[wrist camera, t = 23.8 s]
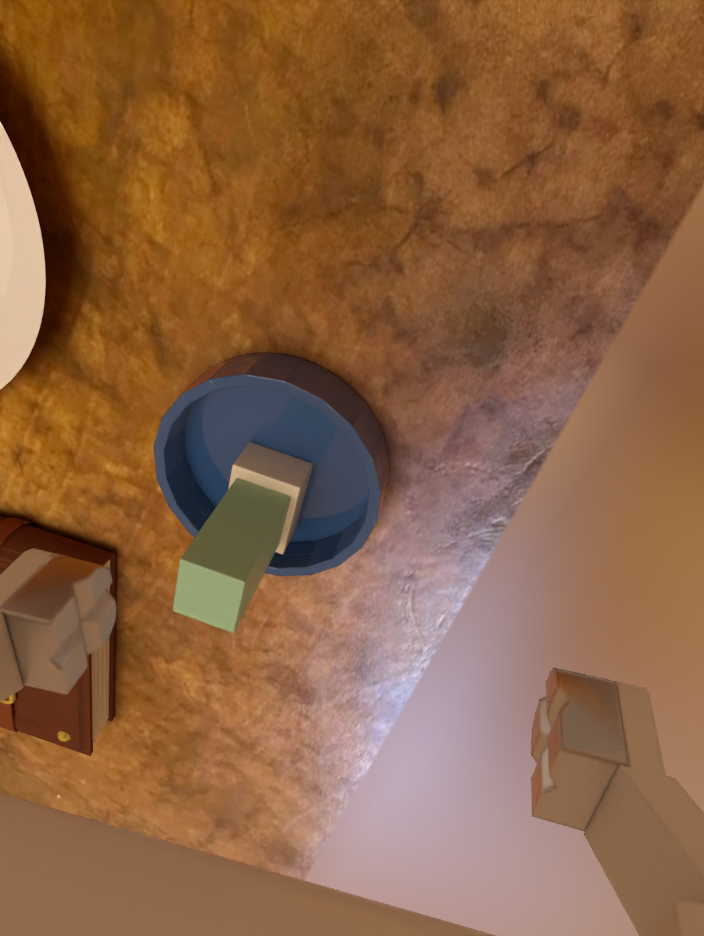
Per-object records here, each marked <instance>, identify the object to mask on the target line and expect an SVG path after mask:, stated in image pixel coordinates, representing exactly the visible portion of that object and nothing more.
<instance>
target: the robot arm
mask: <svg viewBox="0 0 704 936" xmlns="http://www.w3.org/2000/svg"><path fill="white" fill-rule="evenodd" d="M112 582H113V581H112V576H111V571H110V568H108V567H106V566H103V565H99V564H95V563H91V562H88V561H84V560H80V559H76V558H72V557H68V556H64V555H60V554H55V553H51V552H47V551H43V550H39V549H35V548H33V549H30V550H27V551H25V552H24V553H22V554H21V555H20V556H19V557H18V558H17V559H16V560H15V561H14V562H13V563H12V564H11V565H10V566H9V567H8V568H7V569H6V570H5V571H4V572H3V573H2V574H1V575H0V702H2V701H3V700H5V699H6V698H8V697H10V696H11V695H13V694H14V693H16V692H18V691H19V690H21V689H23V687H24V686H23V685H25V686H30V687H34V688H38V689H43V690H47V691H51V692H56V693H60V694H65V695H67V694H68V693H69V692H70V690H71V689H72V688H73V686H74V685H75V684H76V682H77V681H78V679H79V678H80V677H81V675H82V674H83V673H84V671H85V670H86V669H87V667H88V664H87V655H89V654H91V653H93V652H95V651H97V650H99V649H101V648H102V646H103V645H104V643H105V642H106V641H107V639H108V638H109V636H110V634H111V631H112V628H113V626H114V623H115V619H116V610H117V609H116V601H115V599H114V597H113V596H112V595H111V594H110V593H109V591H108V590H107V589H108V587H109V586H110V585H111V583H112ZM531 755H532V756H533V758H534V760H535V761H536V763H537V765H536V768H535V771H534V773H533V776H532V779H531V787H532V788H531V789H532V816H533V817H537V818H540V819H543V820H547V821H550V822H554V823H557V824H561V825H564V826H568V827H571V828H575V829H578V830H582V831H585V833H584V835H585V837H586V839H587V840H588V842H589V844H590V846H591V848H592V850H593V851H594V853H595V855H596V857H597V859H598V861H599V862H600V864H601V866H602V868H603V870H604V872H605V874H606V875H607V877H608V879H609V881H610V883H611V885H612V886H613V888H614V890H615V892H616V894H617V895H618V897H619V899H620V901H621V903H622V905H623V907H624V908H625V910H626V912H627V914H628V916H629V918H630V920H631V921H632V923H633V925H634V927H635V929H636V931H637V932H638V934H639V936H704V813H703V812H702V810H701V809H700V808H699V807H698V806H697V804H696V803H695V802H694V801H693V799H692V798H691V797H690V796H689V795H688V793H687V792H686V791H685V790H684V789H683V787H682V786H681V785H680V783H679V782H678V781H677V780H676V779H675V778H672V777H668V776H666V775H665V770H664V765H663V760H662V755H661V750H660V745H659V740H658V735H657V730H656V725H655V721H654V715H653V710H652V706H651V701H650V696H649V693H648V691H647V690H646V688H643V687H639V686H635V685H630V684H625V683H621V682H616V681H611V680H608V679H603V678H598V677H594V676H589V675H585V674H580V673H576V672H570V671H566V670H562V669H557V668H553V669H552V670H551V671H550V673H549V676H548V678H547V681H546V696H545V697H543V698H542V699H540V700H539V703H538V706H537V709H536V712H535V717H534V722H533V727H532V739H531ZM0 936H495V935H492V934H488V933H485V932H481V931H478V930H474V929H471V928H467V927H464V926H460V925H457V924H454V923H450V922H447V921H443V920H440V919H436V918H433V917H429V916H426V915H422V914H419V913H415V912H411V911H408V910H405V909H401V908H398V907H394V906H391V905H388V904H384V903H380V902H377V901H374V900H370V899H367V898H363V897H360V896H356V895H353V894H349V893H346V892H342V891H339V890H335V889H332V888H328V887H325V886H321V885H318V884H315V883H311V882H308V881H304V880H301V879H297V878H294V877H290V876H287V875H283V874H280V873H276V872H273V871H269V870H266V869H262V868H259V867H256V866H252V865H249V864H245V863H242V862H238V861H235V860H231V859H228V858H224V857H221V856H217V855H214V854H210V853H207V852H203V851H200V850H196V849H193V848H189V847H186V846H182V845H179V844H175V843H172V842H168V841H165V840H161V839H158V838H154V837H151V836H147V835H144V834H140V833H137V832H133V831H130V830H126V829H123V828H119V827H116V826H112V825H109V824H106V823H102V822H99V821H95V820H92V819H88V818H85V817H81V816H78V815H74V814H71V813H67V812H64V811H60V810H57V809H53V808H50V807H46V806H43V805H40V804H36V803H33V802H29V801H26V800H22V799H19V798H15V797H12V796H8V795H5V794H1V793H0Z"/></svg>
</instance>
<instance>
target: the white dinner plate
mask: <svg viewBox="0 0 704 936" xmlns="http://www.w3.org/2000/svg"><path fill="white" fill-rule="evenodd" d="M45 287H46V273H45V258H44V249H43V242H42V236H41V230H40V225H39V221H38V216H37V213H36V209H35V205H34V201H33V198H32V195H31V192H30V189H29V186H28V183H27V180H26V177H25V174H24V172H23V169H22V167H21V164H20V162H19V159H18V157H17V155H16V152H15V150H14V148H13V146H12V144H11V142H10V140H9V137H8V135H7V133H6V132H5V130H4V128H3V126H2V124H1V122H0V389H2V388H3V387H4V386H5V385H6V384H8V383H9V382H10V381H11V380H12V379H13V377H14V376H15V375H16V374H17V373H18V372H19V370H20V369H21V368H22V366H23V365H24V363H25V362H26V360H27V358H28V356H29V355H30V352H31V350H32V348H33V346H34V343H35V341H36V338H37V335H38V332H39V329H40V325H41V321H42V316H43V310H44V302H45Z"/></svg>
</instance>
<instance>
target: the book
mask: <svg viewBox="0 0 704 936" xmlns="http://www.w3.org/2000/svg"><path fill="white" fill-rule="evenodd" d="M33 548H35V549H39V550H43V551H47V552H51V553H55V554H60V555H64V556H68V557H72V558H76V559H80V560H84V561H88V562H91V563H95V564H99V565H103V566H106V567H108V568H110V571H111V576H112V581H113V582H112V583H111V585H110V586H109V587H108V589H107V590H108V591H109V593H110V594H111V595H112V596H113V597H114V599H115V597H116V554H115V553H112V552H109V551H106V550H103V549H100V548H97V547H94V546H91V545H88V544H85V543H82V542H78V541H75V540H72V539H69V538H66V537H63V536H60V535H57V534H54V533H51V532H48V531H45V530H42V529H39V528H36V527H33V526H31V523H30V521H26V520H22V519H19V518H5V517H2V516H0V575H1V574H2V573H3V572H4V571H5V570H6V569H7V568H8V567H9V566H10V565H11V564H12V563H13V562H14V561H15V560H16V559H17V558H18V557H19V556H20V555H21V554H22V553H24V552H25V551H27V550H30V549H33ZM114 661H115V623H114V626H113V628H112V631H111V634H110V636H109V638H108V639H107V641H106V642H105V643H104V645H103V646H102V648H101V649H99V650H97V651H95V652H93V653H91V654H89V655H87V664H88V667H87V669H86V670H85V671H84V673H83V674H82V675H81V677H80V678H79V679H78V681H77V682H76V684H75V685H74V686H73V688H72V689H71V690H70V692H69V693H68V694H67V695H65V694H60V693H56V692H51V691H47V690H43V689H38V688H34V687H30V686H25V685H23V686H24V687H23V689H21V690H19V691H18V692H16V693H14V694H13V695H11V696H10V697H8V698H6V699H5V700H3V701H2V702H0V727H2V728H5V729H8V730H10V731H13V732H18V731H20V732H23V733H26V734H29V735H32V736H35V737H37V738H40V739H43V740H46V741H49V742H52V743H55V744H57V745H60V746H63V747H66V748H69V749H72V750H74V751H77V752H80V753H83V754H86V755H89V756H91V754H92V752H93V742H95V736H98V735H99V730H101V729H103V725H104V724H106V723H107V720H109V721H112V720H113V719H114Z"/></svg>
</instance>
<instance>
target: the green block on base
mask: <svg viewBox="0 0 704 936" xmlns="http://www.w3.org/2000/svg"><path fill="white" fill-rule="evenodd" d="M312 467H313V464H312V463H310V462H307V461H304V460H301V459H298V458H295V457H292V456H289V455H287V454H284V453H281V452H278V451H275V450H272V449H269V448H266V447H263V446H261V445H258V444H255V443H252V442H249V443H248V445H247V446H246V447H245V449H244V450H243V452H242V453H241V454H240V456H239V457H238V458H237V460H236V461H235V463H234V464H233V466H232V471H231V477H230V482H229V488H228V491H227V492H226V494H225V495H224V497H223V498H222V499H221V501H220V502H219V504H218V505H217V507H216V508H215V510H214V511H213V512H212V514H211V515H210V517H209V518H208V520H207V521H206V523H205V524H204V525H203V527H202V528H201V530H200V531H199V533H198V534H197V535H196V537H195V538H194V540H193V541H192V543H191V544H190V546H189V547H188V548H187V550H186V551H185V553H184V554H183V556H182V557H181V558H180V563H179V570H178V577H177V584H176V591H175V598H174V605H173V611H174V612H177V613H179V614H182V615H185V616H188V617H191V618H193V619H196V620H199V621H202V622H204V623H207V624H210V625H213V626H215V627H218V628H221V629H224V630H226V631H229V632H232V633H234V632H235V630H236V628H237V626H238V624H239V622H240V620H241V618H242V616H243V614H244V612H245V610H246V608H247V606H248V604H249V602H250V600H251V599H252V597H253V595H254V593H255V591H256V589H257V587H258V585H259V583H260V581H261V579H262V577H263V575H264V573H265V571H266V569H267V567H268V565H269V563H270V561H271V559H272V557H273V555H274V554H275V552H277V553H280V554H283V553H284V552H285V550H286V548H287V546H288V544H289V542H290V539H291V537H292V535H293V533H294V531H295V529H296V527H297V523H298V519H299V516H300V512H301V508H302V504H303V501H304V497H305V493H306V490H307V486H308V482H309V478H310V475H311V471H312Z"/></svg>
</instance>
